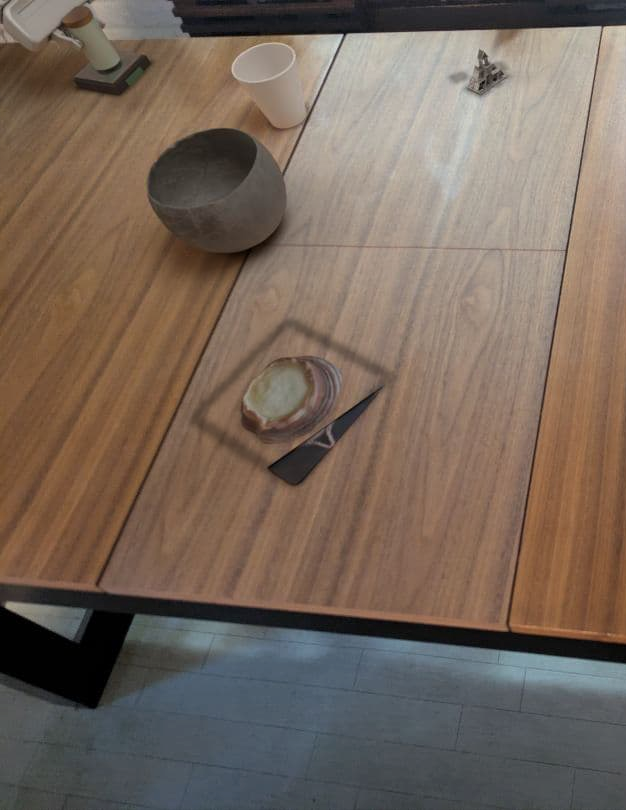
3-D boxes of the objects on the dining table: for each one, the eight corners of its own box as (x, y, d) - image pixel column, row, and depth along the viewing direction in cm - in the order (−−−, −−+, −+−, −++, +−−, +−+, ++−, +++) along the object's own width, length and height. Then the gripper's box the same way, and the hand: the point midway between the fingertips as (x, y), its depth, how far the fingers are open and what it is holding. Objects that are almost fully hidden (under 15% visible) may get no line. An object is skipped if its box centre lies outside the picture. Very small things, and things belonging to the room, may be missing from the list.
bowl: (249, 175, 131) (209, 105, 118) (326, 215, 123) (293, 144, 111) (163, 247, 123) (110, 180, 110) (240, 294, 116) (193, 228, 103)
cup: (302, 144, 134) (274, 85, 123) (249, 135, 137) (218, 77, 126) (330, 104, 140) (306, 45, 129) (279, 97, 142) (252, 38, 132)
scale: (123, 99, 147) (113, 84, 144) (81, 91, 150) (71, 77, 147) (154, 67, 152) (145, 52, 149) (113, 60, 155) (103, 46, 152)
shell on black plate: (390, 379, 104) (382, 364, 101) (296, 488, 96) (285, 475, 93) (290, 324, 111) (280, 308, 108) (195, 421, 104) (181, 407, 100)
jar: (98, 74, 146) (66, 26, 137) (88, 62, 148) (56, 14, 140) (124, 61, 147) (93, 13, 139) (114, 50, 150) (83, 2, 141)
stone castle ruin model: (486, 60, 142) (479, 23, 136) (515, 77, 139) (509, 40, 132) (452, 82, 140) (444, 46, 133) (480, 100, 136) (474, 64, 129)
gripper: (54, -35, 144) (121, 17, 150) (-15, 23, 135) (59, 76, 141) (56, -56, 139) (125, -1, 145) (-15, 3, 130) (61, 58, 136)
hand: (92, 37), depth 143 cm, fingers closed on jar, 5 cm apart
